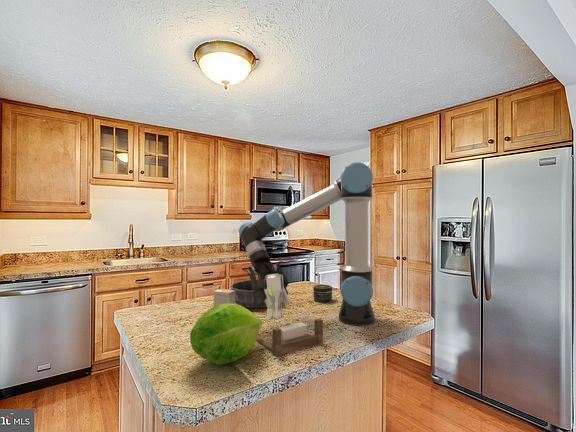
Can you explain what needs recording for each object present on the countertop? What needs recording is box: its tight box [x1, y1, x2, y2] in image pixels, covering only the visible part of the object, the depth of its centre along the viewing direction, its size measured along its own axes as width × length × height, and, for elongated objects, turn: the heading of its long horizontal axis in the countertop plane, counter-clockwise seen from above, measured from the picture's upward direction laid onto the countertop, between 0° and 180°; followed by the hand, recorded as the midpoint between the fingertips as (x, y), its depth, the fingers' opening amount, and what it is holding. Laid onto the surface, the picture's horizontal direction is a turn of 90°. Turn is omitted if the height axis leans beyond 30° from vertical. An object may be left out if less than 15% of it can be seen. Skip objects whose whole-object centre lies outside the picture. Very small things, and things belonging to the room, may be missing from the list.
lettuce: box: [189, 303, 263, 366], centre depth 97 cm, size 19×25×17 cm
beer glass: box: [264, 274, 284, 320], centre depth 114 cm, size 7×7×15 cm
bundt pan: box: [229, 278, 267, 309], centre depth 160 cm, size 26×26×10 cm
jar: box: [312, 284, 333, 304], centre depth 166 cm, size 10×10×8 cm
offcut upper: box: [278, 321, 308, 340], centre depth 106 cm, size 4×10×3 cm, turn 125°
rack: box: [256, 318, 324, 357], centre depth 111 cm, size 21×18×9 cm
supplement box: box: [213, 288, 236, 307], centre depth 133 cm, size 8×5×13 cm, turn 65°
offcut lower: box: [281, 331, 311, 343], centre depth 106 cm, size 4×12×3 cm, turn 122°
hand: (279, 305), depth 111 cm, fingers closed on beer glass, 7 cm apart
